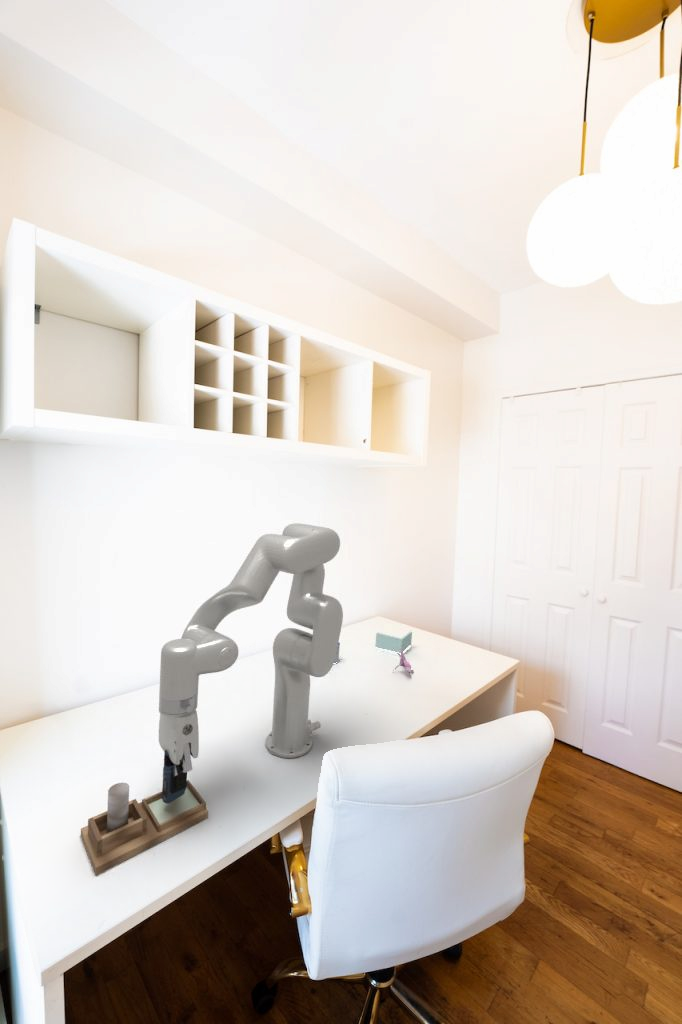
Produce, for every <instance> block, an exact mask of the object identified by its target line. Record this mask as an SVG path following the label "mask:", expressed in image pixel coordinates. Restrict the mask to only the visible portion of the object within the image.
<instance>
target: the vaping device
mask: <svg viewBox="0 0 682 1024" xmlns="http://www.w3.org/2000/svg"><path fill="white" fill-rule="evenodd" d="M181 765H183V762H181V763H179V765H178V767H179V766H181ZM171 774H173V762H172V761H171V760H170V758H169V754H168V752H167V751H166V749H165V755H164V754H163V770H162V789H161V792H162V800H163V802H164V803H167V804H169V803H171V802H172V801H174V800H176V799H177V798H179V797H180V796H182V795H184V793H185V791H186V788H185V789H182V790H180V791H178V792H176V793H173V794H171V792H170V784H171Z"/></svg>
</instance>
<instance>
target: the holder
mask: <svg viewBox="0 0 682 1024" xmlns="http://www.w3.org/2000/svg"><path fill="white" fill-rule="evenodd" d="M208 819H209V810H208V809H207V801H205V799H204V798H203V797H202V795H201V794H200V793H199V792H198V790H197V789H196V788H195V786H194V785H193V784H192V783H191V782H190V780H189V779H187V785H186V791H185V793H184V795H182V796H180V797H179V798H177V799H176V800H174V801H172V802H171V803H169V804H167V803H164V802H163V800H162V791H160V792H156V793H155V794H153V795H150V796H148V797H145V798H143V799H141V802H138V801H137V798H135V799H132V800H130V785H129V784H128V783H127V782H118V783H115V784H113V785H112V786H110V787H109V788H108V790H107V810H106V811H104V812H102V813H100V814H97V815H95V816H92V817H90V818H88V820H87V825H85V826H84V827H81V828H80V838H81V841H82V843H83V847H84V848H85V851H86V853H87V856H88V859H89V862H90V864H91V867H92V870H93V872H94V875H95V876H99V875H100V874H103V873H105V872H106V871H108V870H111V869H112V868H114V867H116V866H118V865H119V864H121V863H124V862H126V861H127V860H129V859H131V858H133V857H135V856H138V855H139V854H141V853H143V852H146V851H147V850H149V849H151V848H153V847H155V846H157V845H159V844H161V843H162V842H164V841H166V840H168V839H170V838H173V837H175V836H176V835H178V834H180V833H183V832H184V831H186V830H188V829H190V828H192V827H194V826H195V825H197V824H199V823H201V822H204V821H205V820H208Z"/></svg>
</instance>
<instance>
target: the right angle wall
mask: <svg viewBox="0 0 682 1024" xmlns="http://www.w3.org/2000/svg"><path fill="white" fill-rule="evenodd" d="M375 634H376V635H375V645H374V646H375V647H378V648H382V649H387V650H391V651H395V652H399V653H401V651H400V648H401V649H402V651H404V650H405V649H406V648H407V647H408V646H409V645H411V646H412V639H413V638H412V637H413V636H412V635H413V631H409V632H408V633H406V634H404V636H402V637H397V636H394V635H391V634H390V635H388V634H386V633H381V632H376V633H375ZM399 646H400V648H399Z"/></svg>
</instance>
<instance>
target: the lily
mask: <svg viewBox="0 0 682 1024" xmlns="http://www.w3.org/2000/svg"><path fill="white" fill-rule="evenodd" d="M399 648H400V646H399ZM400 651H401V655H400V654H399V653H397V654H398V655H399V656H398V657H399V658H400V659H399V663H398V665H397V666H396V667H395V668H394V669H395V670H397V668H398V667H399V666H401V667H402V668H404V669H405V670H406V671H407V672H408V673H409V672H410V673H411V667H412V665H411V663H410V661H408V659H407V657H406V656H405V654H403V651H402V649H401V648H400Z"/></svg>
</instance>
